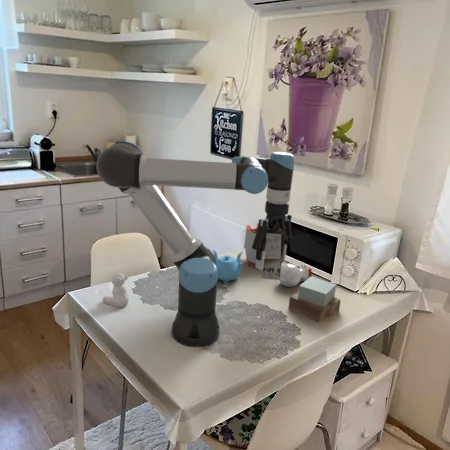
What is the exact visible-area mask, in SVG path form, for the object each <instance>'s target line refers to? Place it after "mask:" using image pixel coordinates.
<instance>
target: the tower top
mask: <svg viewBox="0 0 450 450" xmlns="http://www.w3.org/2000/svg"><path fill="white" fill-rule="evenodd" d="M336 290H337V284H336V283H332V282H330V281H325V280H322V279H319V278H316V277H313V276H312V277H310V278H308V279H307V280H306V281H302V283H301V284H300V285H299V287H298V292H297V293H298V298H299V299H302V300H305V301H308V302H311V303H313V304H316V305H319V306H322V307H325V306H326V305H327V304H328V303H329V302H330V301H331V300H332V299H333V298H334V297H335V295H336Z"/></svg>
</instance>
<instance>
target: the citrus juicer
mask: <svg viewBox="0 0 450 450" xmlns="http://www.w3.org/2000/svg"><path fill="white" fill-rule="evenodd" d="M258 226H259V222H257V224H256V227H255V228H252V226H251V225H250V224H249V225H246V227H245V228H246V231H245V232H246V233H245V242H244V243H245V245H244V246H245V247H244V248H245V249H244V251H245V258H246V261H247V263H248V265H249V266H252V267H254V268H255V267H256V250H255V249H252V245H253V242H254V239H255V236H256V232H257V229H258Z"/></svg>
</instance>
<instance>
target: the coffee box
mask: <svg viewBox="0 0 450 450" xmlns="http://www.w3.org/2000/svg"><path fill="white" fill-rule="evenodd" d="M268 229H269V228H268ZM285 235H286V234H285V232H284V230H283V229H276V230H274V232H270V233H269V232H266V238H267V240H266V246H265V248H264V250H263V251H265V257H264V266H263V270H260V269H259V272H260V278H261V280H262V279H263V280H274V281H279V279H280V272H281V267H282V263H283V262H282V257H283V249H284V242H285Z"/></svg>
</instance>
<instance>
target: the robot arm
mask: <svg viewBox="0 0 450 450" xmlns="http://www.w3.org/2000/svg"><path fill="white" fill-rule="evenodd" d="M294 169H295V156H294V155H293V154H292V153H289V152H285V151H284V152H283V151H273V152H271V153H270V156H269V157H267V158H266V157H265V158H264V157H252V156H251V157H250V156H244V155H242V156H234V157H232V160H231V162H224V161H223V162H220V161H204V160H188V159H171V158H169V159H168V158H155V157H154V158H153V157H147V156H146V155H145V154H144V152H143V150H142V149H141V148H140V147H139V146H138V145H137V144H135V143H134V142H131V141H118V142H115V143H114V144H111V146H109V147H108V148H106V149H104V150H102V152H101V153H100V154H99V155H98V157H97V160H96V172H97V175H98V177H99V178H100V180H102V182H103V183H104V184H106V185H108V186H110V187H113V188H118V189H119V191H120V192H121V193H122V194H125V195H126V194H127V195H129V196H130V197H131V199H132V201H134V203H135V205H136V207H138V208H139V210H140V212H141V213H142V214H143V215H144V217H145V218H146V219H147V221H148V222H149V224H150V225H151V226H152V228H153V229H154V231H155V232H156V233H157V235H158V236H159V237H160V239H161V240H162V241H163V243H164V244H165V246H166V247H167V248H168V249H169V251H170V252H171V254H172V255H171V262H172V263H173V265H174V266H175V267H176V268H177V270H178V298H177V299H178V300H177V302H178V303H177V312H176V314H175V318H174V320H173V322H172V324H171V336H172V338H173V339H174V340H175V341H176V342H178V343H179V344H182V345H184V346H188V347H204V346H208V345H211V344H214V343H215V342H216V341H217V340H218V338H219V336H220V329H221V328H220V324H219V321H218V317H217V314H216V305H217V293H218V292H217V291H218V290H217V289H218V280H219V279H218V270H217V264H216V259H215V256H214V252H213V251H212V250H211V249H210V248H208V247H207V246H205V244H204V243H203V241H202V240H201V239H197V238H194V237H193V235H192V234H191V233H190V231H189V229H188V228H187V227H186V226H185V224H184V223H183V221H182V220H181V218H180V217H179V215H178V214H177V212H176V211H175V210H174V208H173V207H172V206H171V204H170V202H169V201H168V200H167V199H166V197H165V195H164V194H163V192H162V191H161V190H160V188H159V187H158V186H161V187H179V188H199V189H214V190H215V189H217V190H218V189H219V190H220V189H221V190H232V191H233V190H236V191H245V192H247V193H248V194H252V195H253V194H254V195H257V194H260V193H262V192H263V191H264V190H266V196H265V199H266V201H265V205H264V206H265V207H264V212H265V214H266V216H265V218H264V219H262V218H259V219H258V223H259V226H258V229H257V232H256V236H255V239H254V242H253V245H252V249H255V250H256V267H254V268H256V269H257V270H259V271H260V270H263V266H264V257H265V251H263V250H264V248H265V246H266V240H267V238H266V232H269V233H270V232H274V230H276V229H283V230H284V232H285V234H286V235H285V242H284V249H283V257H282V263H283V264H284V263H285V262H286V254H287V248H288V245H291V242H292V241H293V232H292V215H291V214H289V210H290V209H289V208H290V203H289V202H290V200H291V199H290V197H291V192H292V191H291V189H292V183H293V176H294ZM268 228H269V229H268Z"/></svg>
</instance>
